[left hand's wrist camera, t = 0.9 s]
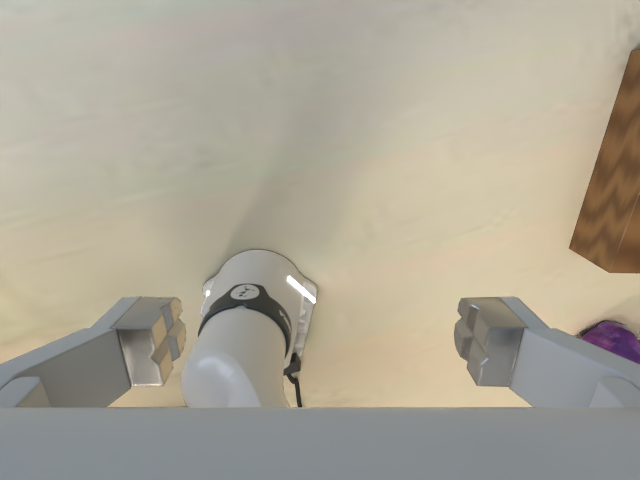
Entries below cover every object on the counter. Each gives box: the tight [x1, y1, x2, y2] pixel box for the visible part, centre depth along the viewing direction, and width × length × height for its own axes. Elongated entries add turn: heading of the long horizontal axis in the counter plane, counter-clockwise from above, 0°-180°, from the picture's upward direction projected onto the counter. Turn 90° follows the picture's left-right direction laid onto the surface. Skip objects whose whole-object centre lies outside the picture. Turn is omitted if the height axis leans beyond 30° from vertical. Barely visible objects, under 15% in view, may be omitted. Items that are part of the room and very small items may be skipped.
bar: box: [569, 50, 640, 273], centre depth 46 cm, size 28×5×8 cm, turn 179°
